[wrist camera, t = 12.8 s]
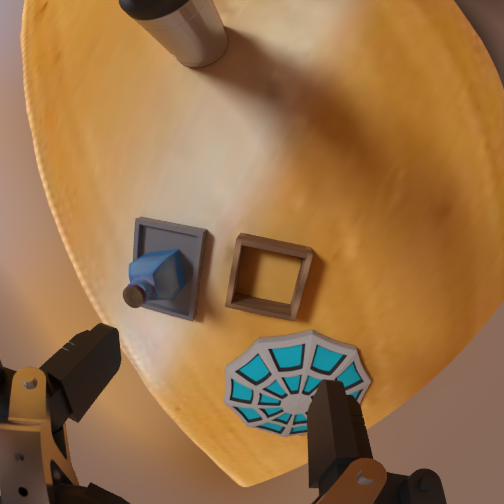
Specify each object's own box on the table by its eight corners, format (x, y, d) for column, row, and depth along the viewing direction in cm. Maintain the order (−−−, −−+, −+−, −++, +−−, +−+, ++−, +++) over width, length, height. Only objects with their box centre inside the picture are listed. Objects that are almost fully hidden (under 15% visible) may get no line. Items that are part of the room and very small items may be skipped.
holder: (240, 232, 43) (236, 238, 39) (310, 247, 42) (313, 254, 38) (229, 296, 46) (225, 306, 42) (294, 309, 45) (294, 321, 42)
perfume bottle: (146, 252, 45) (108, 277, 33) (178, 249, 44) (146, 273, 32) (154, 286, 46) (121, 317, 35) (186, 284, 45) (158, 317, 34)
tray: (141, 216, 44) (135, 218, 42) (206, 229, 43) (203, 231, 41) (137, 299, 49) (132, 304, 47) (195, 315, 48) (192, 321, 46)
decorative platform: (196, 361, 51) (189, 376, 47) (333, 301, 45) (338, 314, 40) (269, 441, 57) (268, 455, 52) (380, 401, 50) (385, 416, 46)
